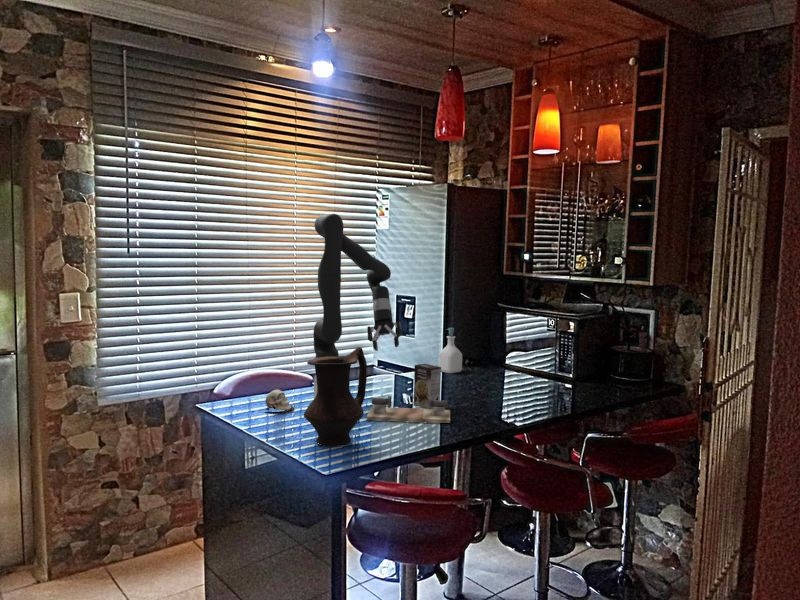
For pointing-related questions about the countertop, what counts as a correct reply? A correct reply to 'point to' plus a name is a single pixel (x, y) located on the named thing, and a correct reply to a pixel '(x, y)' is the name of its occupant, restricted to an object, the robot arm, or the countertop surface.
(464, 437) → the countertop surface
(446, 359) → the soap bottle
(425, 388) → the coffee box
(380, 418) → the shaft board
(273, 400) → the skull
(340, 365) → the jug
